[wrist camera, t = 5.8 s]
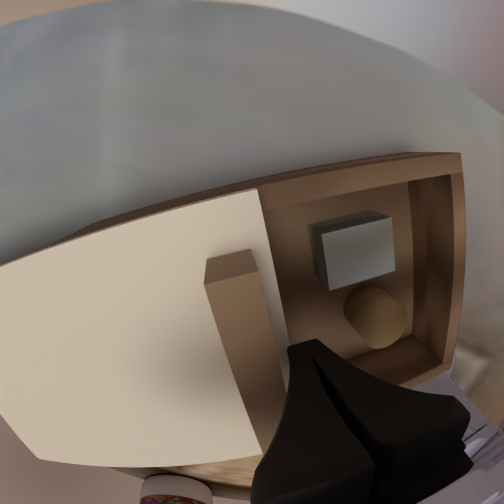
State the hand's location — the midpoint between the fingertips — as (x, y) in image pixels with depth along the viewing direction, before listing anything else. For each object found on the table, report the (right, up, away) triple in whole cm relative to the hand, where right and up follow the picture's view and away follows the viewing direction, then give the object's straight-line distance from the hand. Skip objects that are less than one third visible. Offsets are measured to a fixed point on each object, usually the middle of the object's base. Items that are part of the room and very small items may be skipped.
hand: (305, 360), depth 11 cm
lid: (-10, -2, +1) cm, 11 cm away
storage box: (0, +2, +7) cm, 7 cm away
